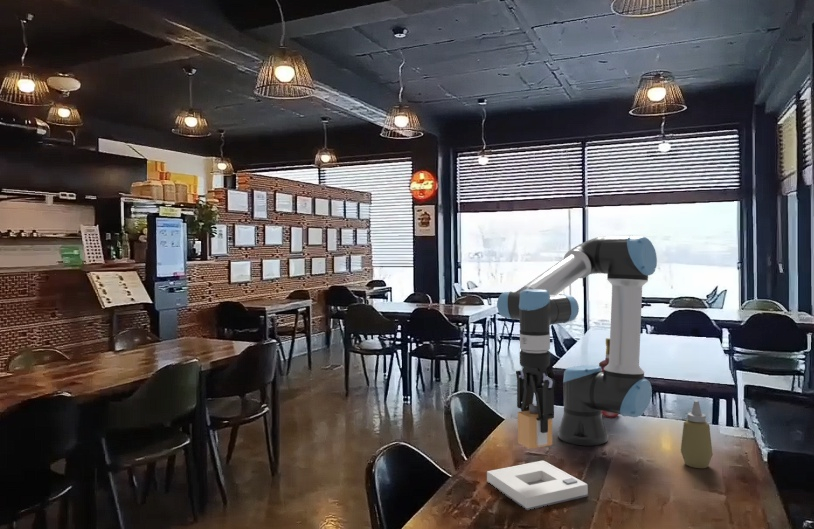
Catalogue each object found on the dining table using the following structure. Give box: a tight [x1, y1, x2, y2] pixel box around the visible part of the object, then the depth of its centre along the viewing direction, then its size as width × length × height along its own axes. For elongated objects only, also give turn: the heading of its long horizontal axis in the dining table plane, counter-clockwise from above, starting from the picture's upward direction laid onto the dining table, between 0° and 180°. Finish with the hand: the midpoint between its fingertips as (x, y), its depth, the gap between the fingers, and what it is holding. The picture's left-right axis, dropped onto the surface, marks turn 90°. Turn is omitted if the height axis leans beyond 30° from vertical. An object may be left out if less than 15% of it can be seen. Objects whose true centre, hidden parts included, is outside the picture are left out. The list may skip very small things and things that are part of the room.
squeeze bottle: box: [680, 400, 714, 469], centre depth 165 cm, size 8×8×18 cm
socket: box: [486, 459, 589, 511], centre depth 151 cm, size 18×18×3 cm
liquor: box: [598, 337, 620, 419], centre depth 213 cm, size 7×7×28 cm
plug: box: [517, 403, 553, 450], centre depth 150 cm, size 5×7×10 cm
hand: (535, 441), depth 150 cm, fingers closed on plug, 5 cm apart
